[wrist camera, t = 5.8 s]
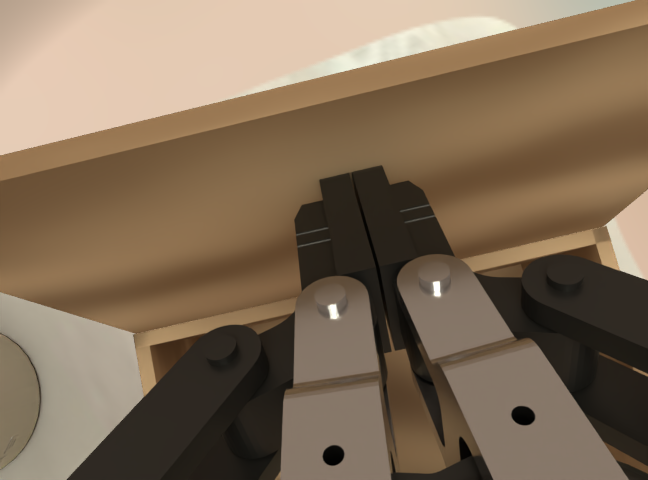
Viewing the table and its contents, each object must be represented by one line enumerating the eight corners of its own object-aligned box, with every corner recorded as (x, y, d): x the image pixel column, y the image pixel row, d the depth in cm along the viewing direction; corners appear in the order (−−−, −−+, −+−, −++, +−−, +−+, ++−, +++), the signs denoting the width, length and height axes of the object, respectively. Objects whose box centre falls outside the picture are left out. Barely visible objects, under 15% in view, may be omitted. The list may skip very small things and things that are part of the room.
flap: (926, -44, 9) (907, -71, 9) (-202, 229, 10) (-199, 199, 10) (603, 226, 22) (597, 212, 22) (136, 333, 23) (134, 319, 23)
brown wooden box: (591, 490, 31) (715, 588, 20) (252, 562, 32) (196, 694, 21) (525, 253, 33) (606, 226, 22) (206, 326, 34) (133, 334, 23)
